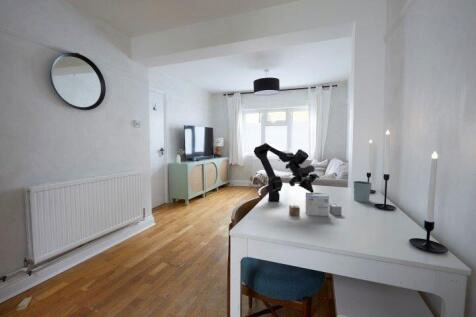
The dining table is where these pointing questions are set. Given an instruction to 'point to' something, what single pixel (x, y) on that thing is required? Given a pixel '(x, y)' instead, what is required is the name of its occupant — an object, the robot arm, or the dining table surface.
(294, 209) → the brown bevelled block
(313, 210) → the light bulb box
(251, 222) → the dining table surface
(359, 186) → the grey green container
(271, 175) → the robot arm
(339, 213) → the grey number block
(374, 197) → the dining table surface
